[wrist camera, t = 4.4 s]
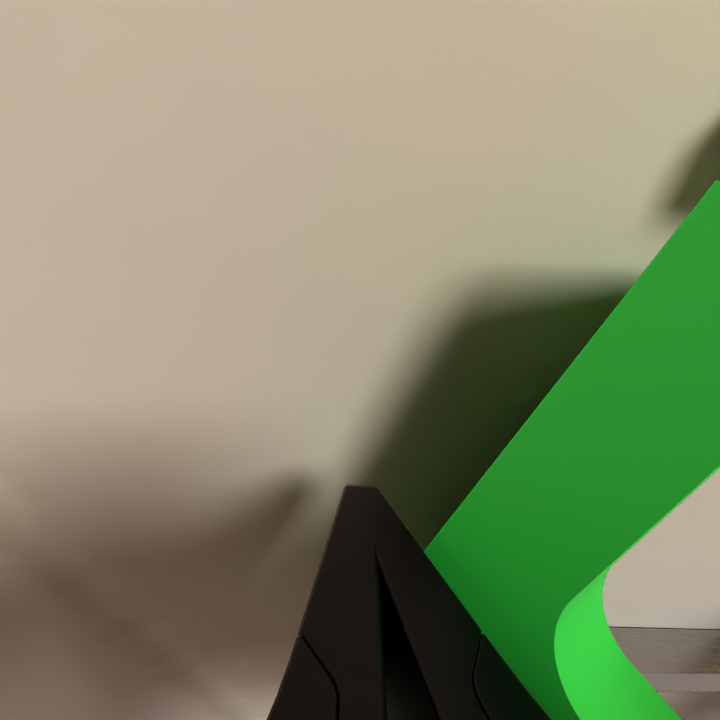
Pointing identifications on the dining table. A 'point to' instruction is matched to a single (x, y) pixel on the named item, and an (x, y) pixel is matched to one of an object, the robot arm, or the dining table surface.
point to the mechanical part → (596, 484)
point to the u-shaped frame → (673, 657)
